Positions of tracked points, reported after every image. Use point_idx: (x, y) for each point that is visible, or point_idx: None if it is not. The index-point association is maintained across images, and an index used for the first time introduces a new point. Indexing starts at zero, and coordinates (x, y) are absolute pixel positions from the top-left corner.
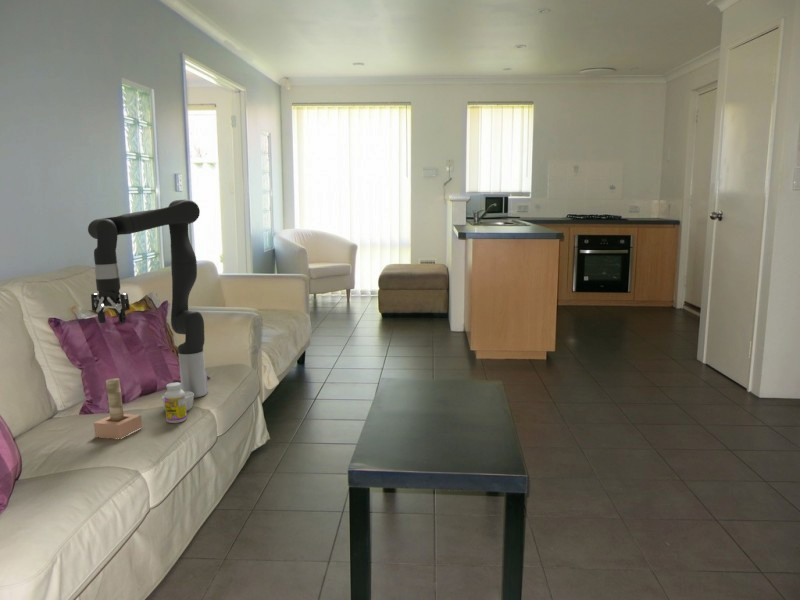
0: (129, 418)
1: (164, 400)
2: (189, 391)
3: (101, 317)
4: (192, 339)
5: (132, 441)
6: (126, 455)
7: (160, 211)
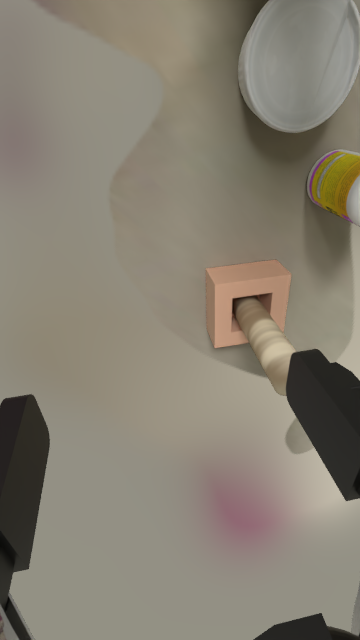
0: (278, 301)
1: (278, 130)
2: None
3: (36, 487)
4: None
5: (299, 317)
6: None
7: None
